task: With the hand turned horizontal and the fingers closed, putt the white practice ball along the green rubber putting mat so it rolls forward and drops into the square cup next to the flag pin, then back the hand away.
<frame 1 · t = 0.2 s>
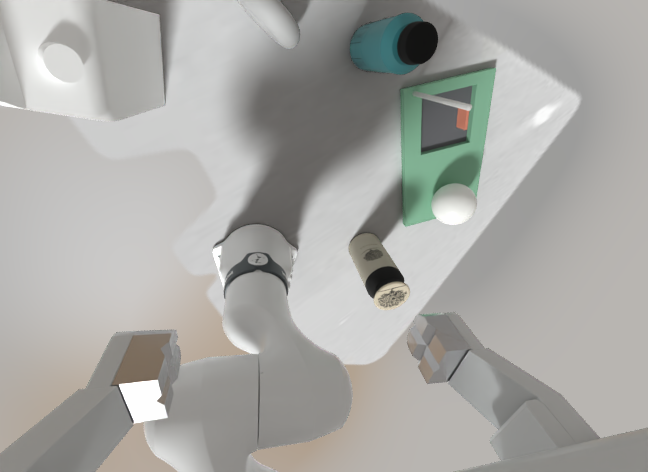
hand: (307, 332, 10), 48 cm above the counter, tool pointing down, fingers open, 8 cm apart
travel mug: (363, 245, 70), on the counter
donut: (267, 18, 42), on the counter
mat: (440, 155, 61), on the counter
ball: (453, 204, 61), point 6 cm above the counter, touching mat
beverage bottle: (364, 47, 47), on the counter
milk: (119, 53, 41), on the counter
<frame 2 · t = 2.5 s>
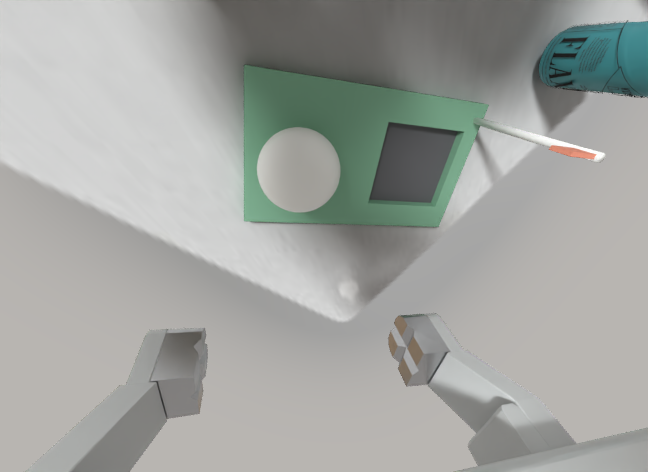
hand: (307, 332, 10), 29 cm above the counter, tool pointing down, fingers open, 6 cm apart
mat: (359, 160, 38), on the counter
ball: (299, 171, 30), point 6 cm above the counter, touching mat
beverage bottle: (550, 58, 36), on the counter
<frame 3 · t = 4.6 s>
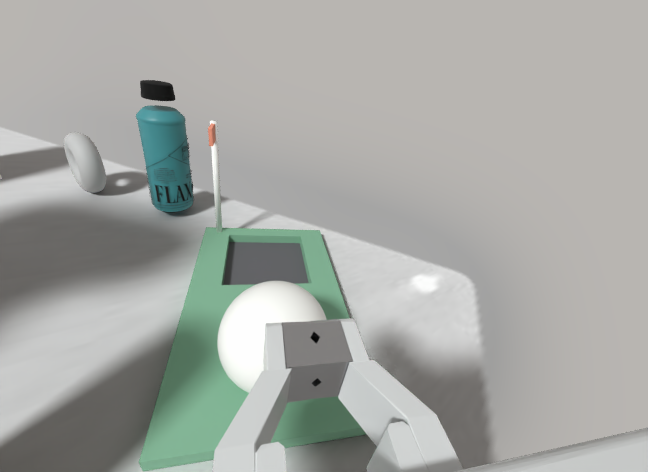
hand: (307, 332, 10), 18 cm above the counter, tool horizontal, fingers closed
donut: (93, 191, 50), on the counter
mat: (268, 304, 34), on the counter
ball: (274, 335, 23), point 6 cm above the counter, touching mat
beverage bottle: (175, 212, 48), on the counter
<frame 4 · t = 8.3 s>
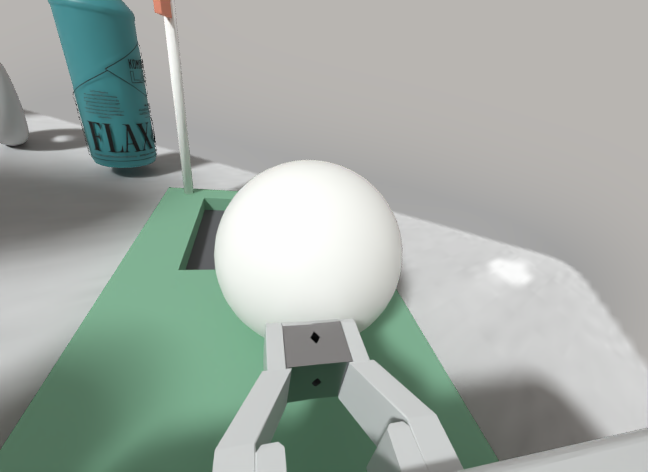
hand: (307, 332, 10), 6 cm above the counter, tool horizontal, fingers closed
donut: (14, 145, 35), on the counter
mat: (265, 305, 18), on the counter
ball: (309, 252, 14), point 6 cm above the counter, tilted 90°, touching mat
beverage bottle: (129, 172, 33), on the counter
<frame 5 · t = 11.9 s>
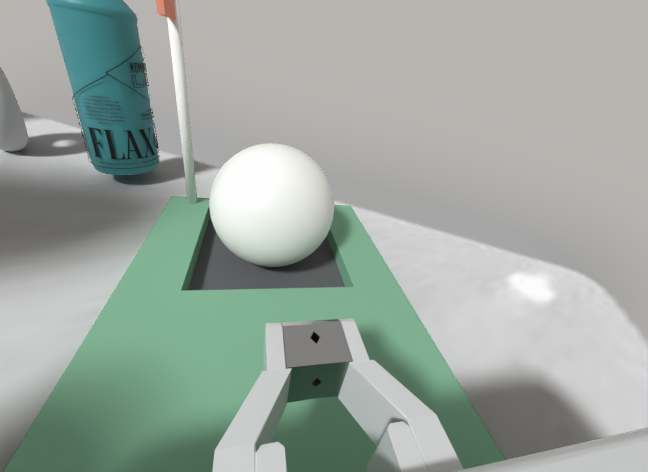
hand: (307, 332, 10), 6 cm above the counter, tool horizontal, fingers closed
donut: (13, 151, 34), on the counter
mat: (273, 329, 17), on the counter
ball: (274, 206, 21), point 5 cm above the counter, tilted 117°, touching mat
beverage bottle: (131, 179, 32), on the counter
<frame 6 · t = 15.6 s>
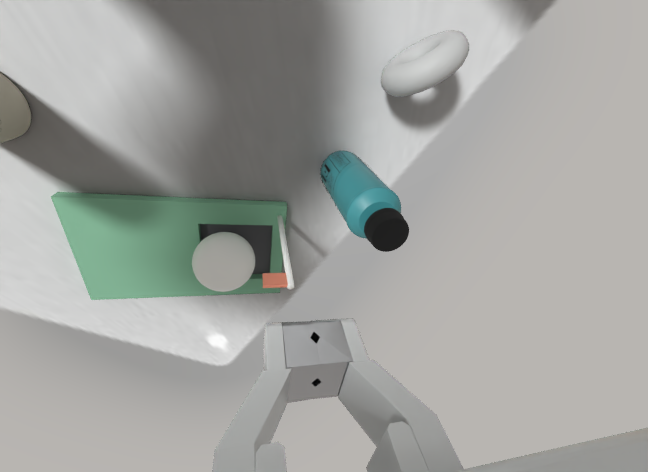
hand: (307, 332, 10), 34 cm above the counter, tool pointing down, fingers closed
donut: (402, 63, 37), on the counter
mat: (189, 248, 45), on the counter
ball: (224, 261, 42), point 5 cm above the counter, tilted 130°, touching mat
beverage bottle: (338, 167, 43), on the counter
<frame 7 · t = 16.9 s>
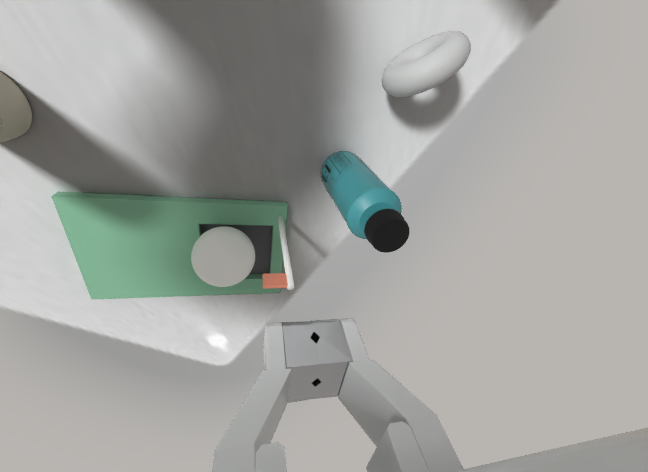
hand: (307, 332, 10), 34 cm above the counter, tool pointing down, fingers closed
donut: (403, 63, 37), on the counter
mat: (189, 248, 45), on the counter
ball: (224, 256, 42), point 5 cm above the counter, tilted 123°, touching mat
beverage bottle: (338, 167, 43), on the counter
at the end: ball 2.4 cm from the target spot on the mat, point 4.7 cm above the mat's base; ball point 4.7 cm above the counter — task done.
